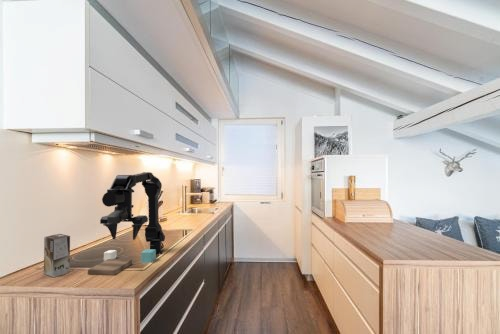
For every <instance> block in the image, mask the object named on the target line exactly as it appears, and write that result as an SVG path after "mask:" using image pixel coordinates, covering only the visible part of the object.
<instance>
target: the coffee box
mask: <svg viewBox="0 0 500 334" xmlns="http://www.w3.org/2000/svg"><path fill="white" fill-rule="evenodd" d="M43 254H44V255H43V274H44V275H46V276H49V277H51V278H56V277H60V276H62V275H66V274H69V273H70V266H71V265H70V263H71V262H70V259H71V256H70V255H71V236H70V235H69V234H68V235H67V234H62V233H57V234H56V233H55V234H52V235H48V236H44V237H43Z"/></svg>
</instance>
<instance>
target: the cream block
mask: <svg viewBox="0 0 500 334" xmlns="http://www.w3.org/2000/svg"><path fill="white" fill-rule="evenodd" d="M117 254H118V253H117V250H115V249H108V250H107V251H105V252H103V262H104V261H106V260H108V259H117Z"/></svg>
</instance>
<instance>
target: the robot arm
mask: <svg viewBox="0 0 500 334" xmlns="http://www.w3.org/2000/svg"><path fill="white" fill-rule="evenodd" d="M139 183H141V186H142V187H143V189H144V193H145V195H146V196H147V197H148V198H147V199H148V200H147V201H148V216H147V215H140V214H139V215H136V216H134V214H133V210H132V209H133V208H134V204H133V193H135V190H134V189H133V188H134V187H135V186H137V184H139ZM162 187H163V185H162V182H161V180H160V179H159V178H158V177H157V176H155V175H154V173H152V172H149V171H147V172H145V171H143V172H140V173H136V174H135V173H134V174H117V175H116V176H115V178H114V180H113V181H112V184H111V185H110V187H109V189H107V190H106V192H105V193H104V194H103V195H102V198H101V201H102V204H103V205H104V206H105V207H114V211H111V213H109V214H108V215H104V216H101V217H100V220H99V224H101V225H103V226H105V227H106V228H107V229H108V232H110V235H111V238H112V240H116V238H117V231H118V225H119V224H120V223H122V222H124V223H125V222H129V223H132V224H131V227H132V240H134V241H135V240H136V239H137V236H138V234H139V233H140V232H139V231H140V230H141V228H142V226H143V225H145V224H146V223H147V222H148V225H147V226H146V227H145V228H144V237H145V242H146V243H148V242H149V249H156V255H159V254H160V253H162V252H163V251H164V249H162V242H165V241H166V240H165V239H166V234H165V233H164V231H163V229H162V228H163V227H162V225H161V224H160V222H159V196H160V193H161V191H162Z"/></svg>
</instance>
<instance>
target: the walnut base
mask: <svg viewBox="0 0 500 334" xmlns="http://www.w3.org/2000/svg"><path fill="white" fill-rule="evenodd" d="M131 265H133V260H132V259H124V258H123V259H121V258H120V259H119V258H115V259H108V260H106V261H104V260H103V261H102V262H100V263H98V264H97V265H94V266H92V267H91V268H89V269H87V275H89V276H91V275H92V276H93V275H94V276H115V275H117V274H119V273H120V272H121V271H123V270H125V269H126V268H128V267H130V266H131Z"/></svg>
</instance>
